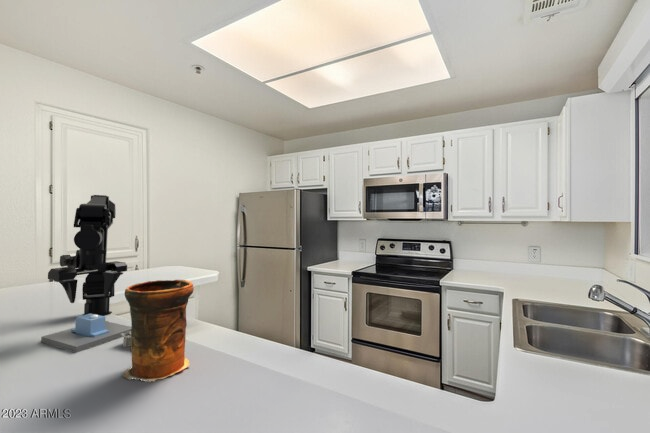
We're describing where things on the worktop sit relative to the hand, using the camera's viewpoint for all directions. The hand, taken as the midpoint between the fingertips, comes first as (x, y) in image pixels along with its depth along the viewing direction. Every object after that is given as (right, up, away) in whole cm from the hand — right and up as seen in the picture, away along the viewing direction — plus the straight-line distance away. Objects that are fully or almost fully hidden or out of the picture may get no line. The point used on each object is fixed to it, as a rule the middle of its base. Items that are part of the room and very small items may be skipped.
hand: (89, 299), depth 91 cm
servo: (+1, -11, -1) cm, 11 cm away
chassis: (+1, -11, -1) cm, 11 cm away
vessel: (+30, -12, -18) cm, 37 cm away
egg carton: (+19, -12, -5) cm, 23 cm away
